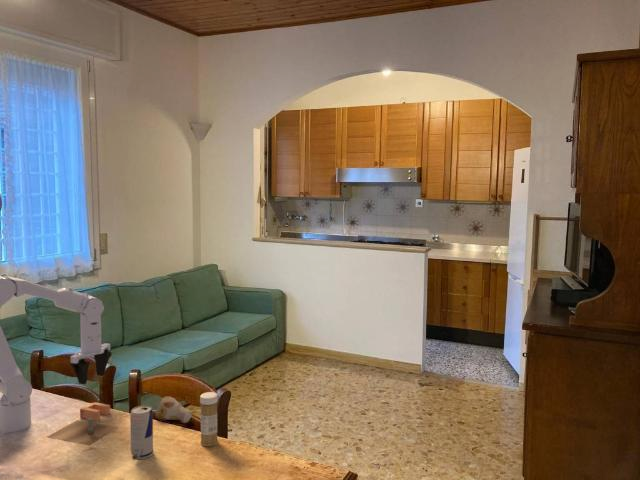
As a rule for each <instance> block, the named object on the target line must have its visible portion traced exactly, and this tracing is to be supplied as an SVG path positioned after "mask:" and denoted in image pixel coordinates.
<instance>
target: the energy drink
mask: <svg viewBox="0 0 640 480" xmlns="http://www.w3.org/2000/svg"><path fill="white" fill-rule="evenodd" d="M153 413H154V411H153V409H152V406H150V405H138V406H135V407H133V408H132V409H131V410H130V413H129V415H130V453H131V454H133V456H131V458H132V459H133V460H138V461H139V460H140V461H141V460H146V459H149V458H150V457H151V456H152V455H153V454H154V422H153V421H154V416H153Z"/></svg>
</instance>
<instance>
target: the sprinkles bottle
mask: <svg viewBox="0 0 640 480" xmlns="http://www.w3.org/2000/svg"><path fill="white" fill-rule="evenodd" d="M199 397H200V398H199V403H200V445H201V446H204V447H213V446H215V445H217V443H218V440H219V439H218V402H219V401H218V400H219V399H218V397H219V396H218V394H217V393H216V392H214V391H213V392H212V391H208V392H203V393H202V394H201V395H200V396H199Z"/></svg>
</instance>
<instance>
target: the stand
mask: <svg viewBox="0 0 640 480" xmlns="http://www.w3.org/2000/svg"><path fill="white" fill-rule="evenodd" d="M118 428H119V427H118V426H113V425H107V424H103V423H96V422H94V420H93V418H89V419H87V421H84V420H79V419H77V420H75V421H72V422H71V423H69V424H67V425H66V426H64V427H62V428H60V429H59V430H57V431H55V432H53V433H51V434H50V435H47V436H46V438H48V439H53V440H54V439H55V440H60V441H65V442H69V443H77V444H80V445H81V444H82V445H87V446H91V445H93V444H94V443H95V442H97V441H99V440H100V439H102V438H104V437H105V436H107V435H108V434H110V433H111V432H114V431H115V430H117V429H118Z"/></svg>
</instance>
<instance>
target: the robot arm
mask: <svg viewBox="0 0 640 480" xmlns="http://www.w3.org/2000/svg"><path fill="white" fill-rule="evenodd" d="M25 295H27V296H28V295H29V296H33V297H37V298H41V299H45V300H48V301H52V302H53V304H54V306H55V307H56V308H60V309H64V310H67V311H71V312H75V313H79V314H80V322H79V323H80V350H79V351H78V352H76V353H75V354H73V355H71V356H70V361H69V364H70V366H71V368H72V369H73V370H74V372H75V375H76V377H77V380H78V381H77V382H78V384H79V385H80V384H81V385H86V384H87V383H88V382H87V381H88V371H89V367H90V364H91V362H89V361H86V359H89V358H91V357H94V361H95V367H96V368H95V371H96V376H100V377H103V376H105V373H106V369H107V365H108V363H109V360H110V358H111V356H112V351H110V350H111V343H107V342H106V343H102V319H101V318H102V314H103V313H104V310H105V306H104V304H103V302H102V300H101V299H99V298H98V297H94V296H92V295H90V294H89V293H88V292H83V293H82V292H78V291H76V290H74V288H73V287H69V286H68V287H67V288H66V287H61V288H60V289H57V290H56V289H53V288H50V287H47V286H44V285H42V284H37V283H36V282H31V281H29V280H26V279H23V278H18V277H12V276H3V275H1V274H0V309H1V308H2V307H3V306H4V305H5V304H6V303H8V301H10V300H11V299H12V298H13V297H16V298H19V297H21V296H25ZM11 350H12V349H11V347H10V345H9V343H8V341H7V338H6V336H5V334H4V331H3V329H2V326H1V325H0V393H2V395H1V397H0V437H1V436H3V435H6V434H7V433H15V432H19V431H23V430H25V429H27V428H30V426H31V425H32V412H31V411H32V409H31V407H32V406H31V404H32V403H31V402H32V401H31V395H32V393H33V386H32V384H31V382H29V381H28V380H27V379H25V378H24V375H23V374H22V371H21V369H20V368H19V367H18V365H17V362H16V360H15V356H14V355H13V353H12V351H11Z"/></svg>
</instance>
